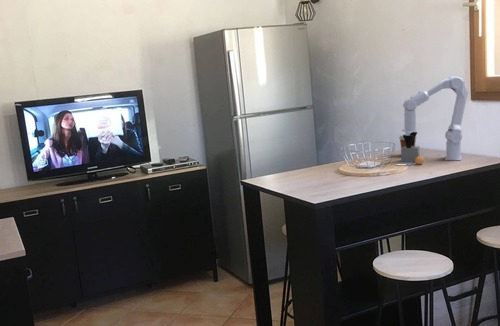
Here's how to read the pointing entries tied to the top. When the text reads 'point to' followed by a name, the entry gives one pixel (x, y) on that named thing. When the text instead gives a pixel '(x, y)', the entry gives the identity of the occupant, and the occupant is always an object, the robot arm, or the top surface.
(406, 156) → the grey block
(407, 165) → the tape square
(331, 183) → the top surface
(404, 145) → the disposable coffee cup
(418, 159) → the ball
